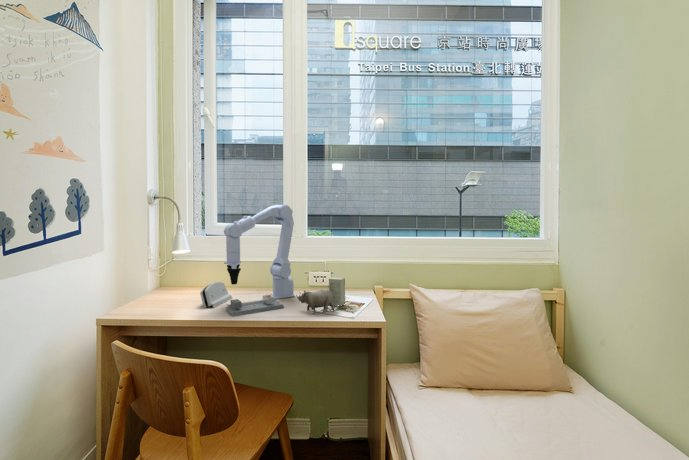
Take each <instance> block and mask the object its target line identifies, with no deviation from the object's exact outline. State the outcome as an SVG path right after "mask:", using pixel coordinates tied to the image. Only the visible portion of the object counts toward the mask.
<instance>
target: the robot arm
mask: <svg viewBox="0 0 689 460" xmlns="http://www.w3.org/2000/svg"><path fill="white" fill-rule="evenodd" d="M270 217H273V218H274V219H275V220H277V221H278V222H279V223H280V225H281V229H280V234H279V240H278V246H277V253H276V257H275V258H274V259H273V261H272V264H271V266H270V268H269V269H270V270H269V271H270V274H271V276H272V294H271V293H270V294H269V295H271V296H272V297H274V298H275V300H280V299H284V298H285V299H286V298H293V297H295V294H294V292H295V291H294V280H293V278H292V277H291V273H292V270H291V262H290V260H289V254H290V248H291V242H292V237H293V231H294V225H295V223H294V222H295V221H294V218H293V209H292V208H291V206H290V205H288V204H275V203H274V204H273V205H270V206H268V207H266V208H265V209H263V210H261V211H259V212H258V213H256V214H254V215H253V216H251V215H244V216H242V218H241V219H238V220H235V221H233V223H229V224H227V225H226V226H225V227H224V230H223V234H224V235H225V238H226V243H225V244H226V245H225V246H226V247H225V248H226V261H223V264H225V265H226V268H227V269H226V270H227V272H228V275H229V279H230V283H231V285H232V286H234V285H237V284H238V281H239V275H240V273H241V269H242V268H240V266H241V263H242V261H241V236H242V234H243V233H245V232H248V231H250V230H251V229H253V228H255V226H256V224H257V223H259V222H261V221H264V220H265V219H268V218H270Z"/></svg>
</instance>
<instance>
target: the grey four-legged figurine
mask: <svg viewBox="0 0 689 460" xmlns="http://www.w3.org/2000/svg"><path fill="white" fill-rule="evenodd" d="M299 294H300V295H297V294H295V296H296V298H297V300H298V301H299V302H301V304H304V303H305V304H307V306H306V311H307V312H308V311H309V310H310V308H311V309H312V310H313V312H312V315H315V314H316V313H317V310H316V309H317V308H323V311H322V313H325V314H326V312H327V311H328V310H329V307H330V308H331V309H330V311H331V310H334V309H335V310H336V308H335V306H334V305H333V304H332V302H331V301H332V300H333V297H334V296H333V294H332V292H331V291H329V289H318V290H317V291H306V290H303V293H301V292H300V291H299ZM335 310H334V311H335Z"/></svg>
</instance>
